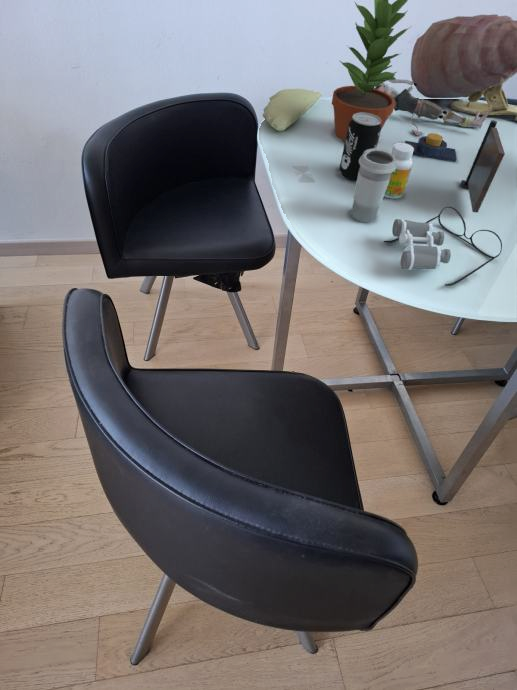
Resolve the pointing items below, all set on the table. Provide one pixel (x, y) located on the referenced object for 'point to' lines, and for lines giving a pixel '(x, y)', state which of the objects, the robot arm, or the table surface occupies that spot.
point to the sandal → (494, 100)
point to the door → (485, 169)
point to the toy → (426, 107)
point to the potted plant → (369, 68)
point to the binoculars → (417, 254)
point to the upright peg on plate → (465, 183)
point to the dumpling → (289, 106)
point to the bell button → (433, 139)
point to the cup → (372, 183)
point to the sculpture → (464, 56)
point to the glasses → (464, 240)
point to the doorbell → (433, 150)
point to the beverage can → (359, 142)
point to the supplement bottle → (400, 170)
